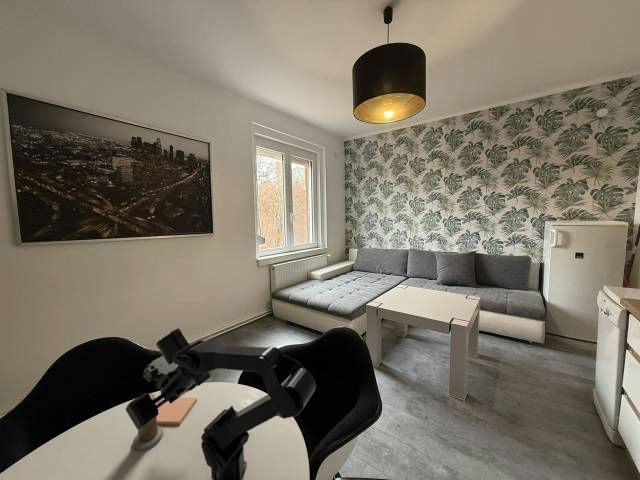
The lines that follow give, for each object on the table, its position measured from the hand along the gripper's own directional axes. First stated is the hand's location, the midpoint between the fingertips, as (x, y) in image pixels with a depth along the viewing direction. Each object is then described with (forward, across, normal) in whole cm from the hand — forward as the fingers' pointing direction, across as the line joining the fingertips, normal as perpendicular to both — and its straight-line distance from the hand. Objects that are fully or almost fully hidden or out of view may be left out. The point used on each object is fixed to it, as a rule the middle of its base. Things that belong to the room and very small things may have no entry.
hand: (156, 405), depth 67 cm
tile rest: (+13, -10, +3) cm, 16 cm away
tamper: (+11, 0, +5) cm, 12 cm away
